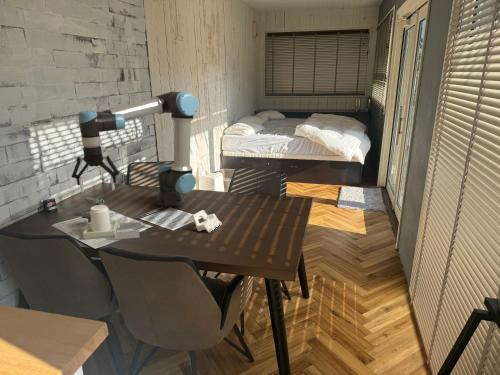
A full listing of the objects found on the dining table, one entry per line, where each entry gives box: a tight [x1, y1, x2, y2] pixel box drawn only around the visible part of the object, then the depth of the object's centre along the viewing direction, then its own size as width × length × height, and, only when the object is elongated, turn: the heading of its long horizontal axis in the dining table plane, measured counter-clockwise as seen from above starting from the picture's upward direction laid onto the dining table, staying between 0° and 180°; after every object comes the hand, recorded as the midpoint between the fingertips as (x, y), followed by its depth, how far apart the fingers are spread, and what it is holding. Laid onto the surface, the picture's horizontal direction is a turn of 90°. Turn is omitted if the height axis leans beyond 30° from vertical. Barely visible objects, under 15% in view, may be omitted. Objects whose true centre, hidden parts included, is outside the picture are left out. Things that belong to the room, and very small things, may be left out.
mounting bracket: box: [192, 209, 223, 233], centre depth 172 cm, size 12×6×11 cm, turn 152°
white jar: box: [89, 204, 111, 232], centre depth 166 cm, size 8×8×12 cm
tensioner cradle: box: [115, 221, 142, 240], centre depth 166 cm, size 10×12×3 cm
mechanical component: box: [85, 196, 105, 207], centre depth 185 cm, size 3×10×10 cm, turn 79°
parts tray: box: [82, 219, 119, 240], centre depth 167 cm, size 14×14×3 cm
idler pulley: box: [80, 209, 91, 224], centre depth 174 cm, size 7×7×7 cm
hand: (98, 190), depth 162 cm, fingers open, 13 cm apart
